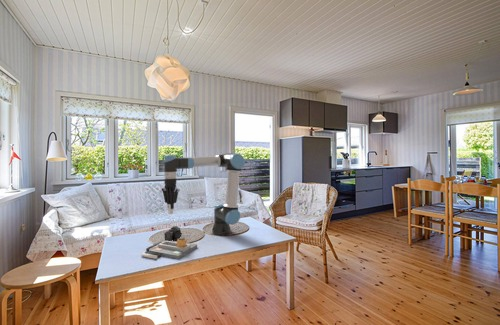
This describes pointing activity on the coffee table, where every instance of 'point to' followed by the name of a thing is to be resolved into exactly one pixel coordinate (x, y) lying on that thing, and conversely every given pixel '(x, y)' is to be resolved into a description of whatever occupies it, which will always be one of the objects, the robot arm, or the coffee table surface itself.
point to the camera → (173, 234)
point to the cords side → (152, 246)
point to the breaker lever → (181, 242)
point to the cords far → (150, 255)
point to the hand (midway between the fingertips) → (170, 213)
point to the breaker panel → (173, 249)
